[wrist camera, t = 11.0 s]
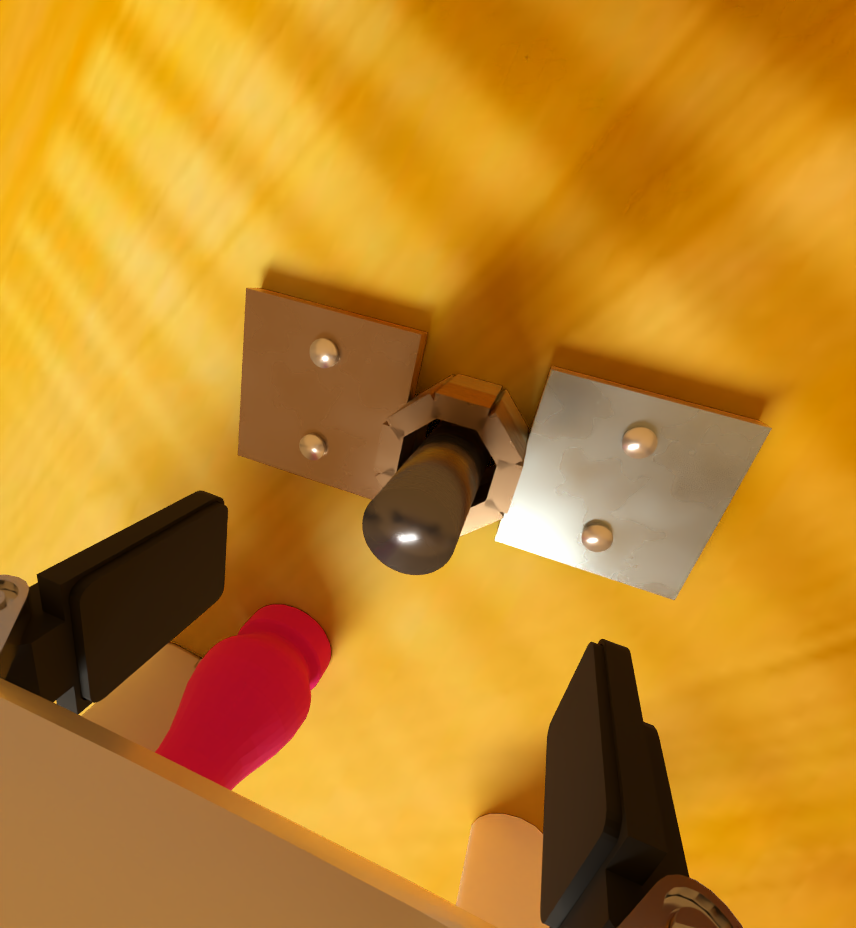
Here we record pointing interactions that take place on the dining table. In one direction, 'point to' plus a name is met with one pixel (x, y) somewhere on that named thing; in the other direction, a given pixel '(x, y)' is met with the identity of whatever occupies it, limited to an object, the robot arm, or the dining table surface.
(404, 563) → the hinge pin
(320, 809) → the dining table surface
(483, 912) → the paper coffee cup
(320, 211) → the dining table surface
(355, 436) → the hinge
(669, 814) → the robot arm
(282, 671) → the pepper mill
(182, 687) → the beige upright panel
